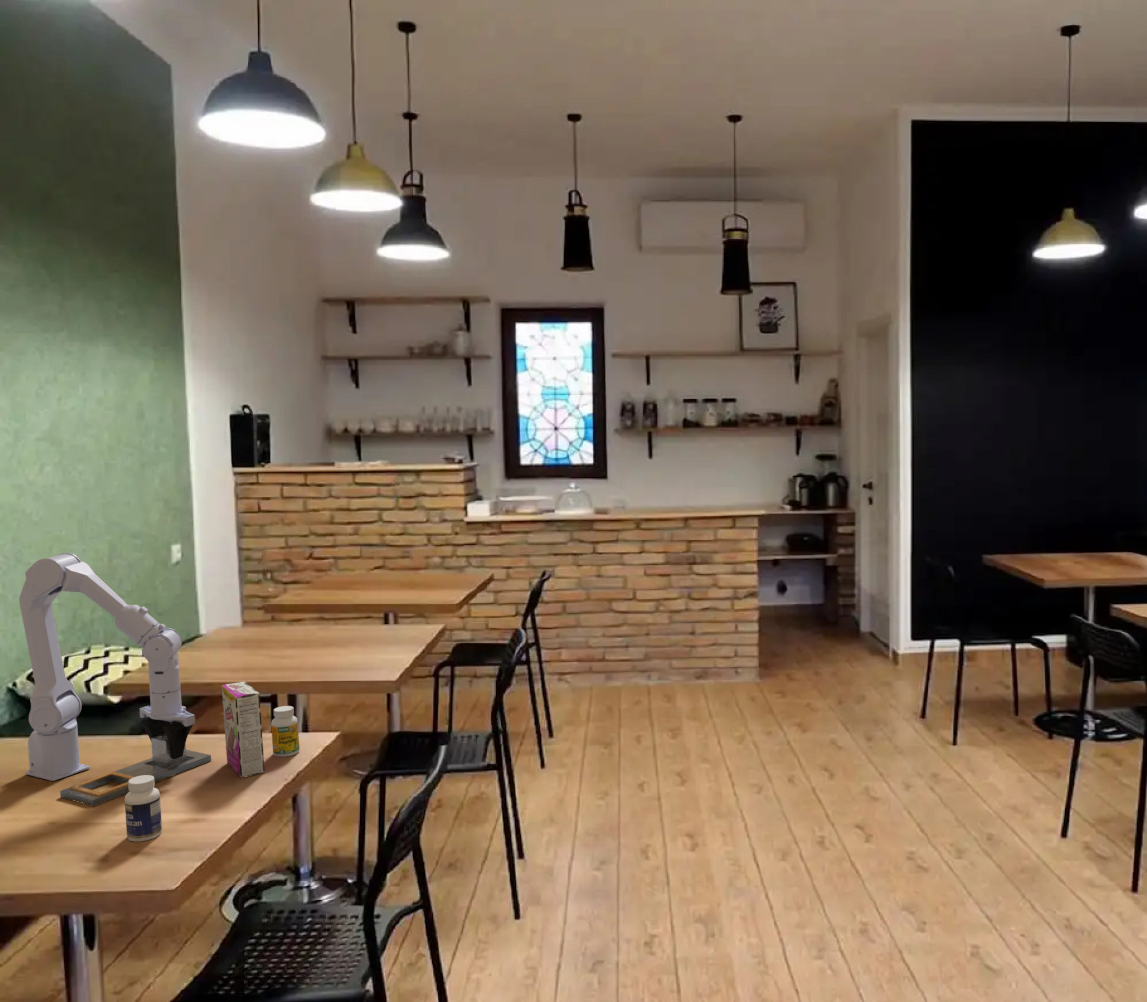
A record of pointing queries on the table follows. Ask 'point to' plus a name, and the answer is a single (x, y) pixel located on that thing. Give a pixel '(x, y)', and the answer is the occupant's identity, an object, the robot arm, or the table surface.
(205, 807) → the table surface
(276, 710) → the supplement bottle
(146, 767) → the rail
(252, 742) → the candy bar box
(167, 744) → the metal block with knob
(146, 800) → the pill bottle
